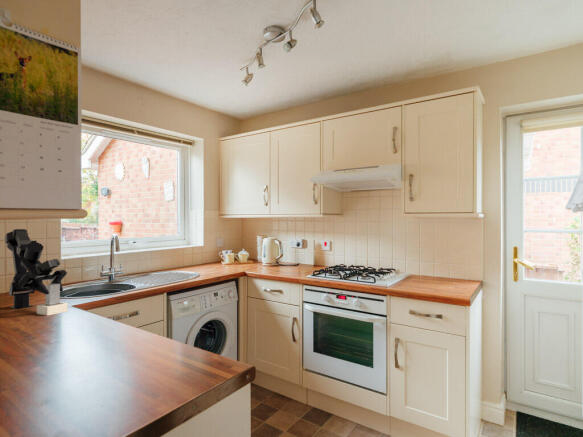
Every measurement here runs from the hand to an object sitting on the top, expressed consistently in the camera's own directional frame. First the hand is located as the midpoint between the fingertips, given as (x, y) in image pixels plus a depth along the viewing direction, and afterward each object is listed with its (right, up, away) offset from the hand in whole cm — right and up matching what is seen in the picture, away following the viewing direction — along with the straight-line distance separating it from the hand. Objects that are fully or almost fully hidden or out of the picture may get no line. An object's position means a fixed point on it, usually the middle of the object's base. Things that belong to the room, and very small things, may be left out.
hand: (55, 292), depth 144 cm
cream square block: (-1, -9, 0) cm, 9 cm away
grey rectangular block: (-1, -9, 0) cm, 9 cm away
